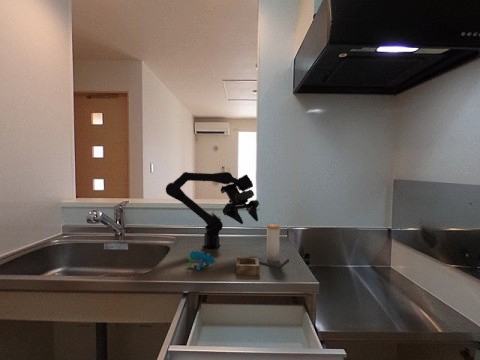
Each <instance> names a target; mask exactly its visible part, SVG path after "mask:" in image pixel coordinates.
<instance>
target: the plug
mask: <svg viewBox="0 0 480 360" xmlns="http://www.w3.org/2000/svg"><path fill="white" fill-rule="evenodd" d="M280 226H281V225H279V224H276V223H275V224H271V223H270V224H267V227H266V254H267V260H268V261H271V262H276V261H279V256H280V231H281V230H280V229H281V227H280Z"/></svg>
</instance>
